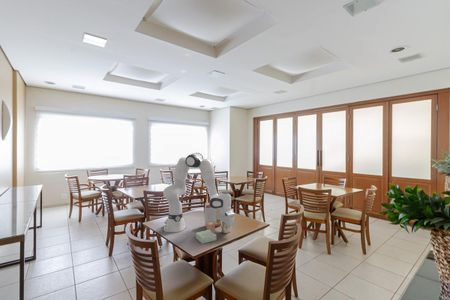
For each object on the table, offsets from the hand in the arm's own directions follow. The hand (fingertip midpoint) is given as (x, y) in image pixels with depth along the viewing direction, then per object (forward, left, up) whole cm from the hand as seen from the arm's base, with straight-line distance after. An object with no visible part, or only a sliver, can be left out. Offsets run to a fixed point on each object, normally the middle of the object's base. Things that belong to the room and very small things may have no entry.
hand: (225, 228), depth 181 cm
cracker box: (-19, -2, -4) cm, 19 cm away
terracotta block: (-8, -10, -4) cm, 13 cm away
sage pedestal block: (+3, -20, -4) cm, 20 cm away
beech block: (0, 0, -3) cm, 3 cm away
